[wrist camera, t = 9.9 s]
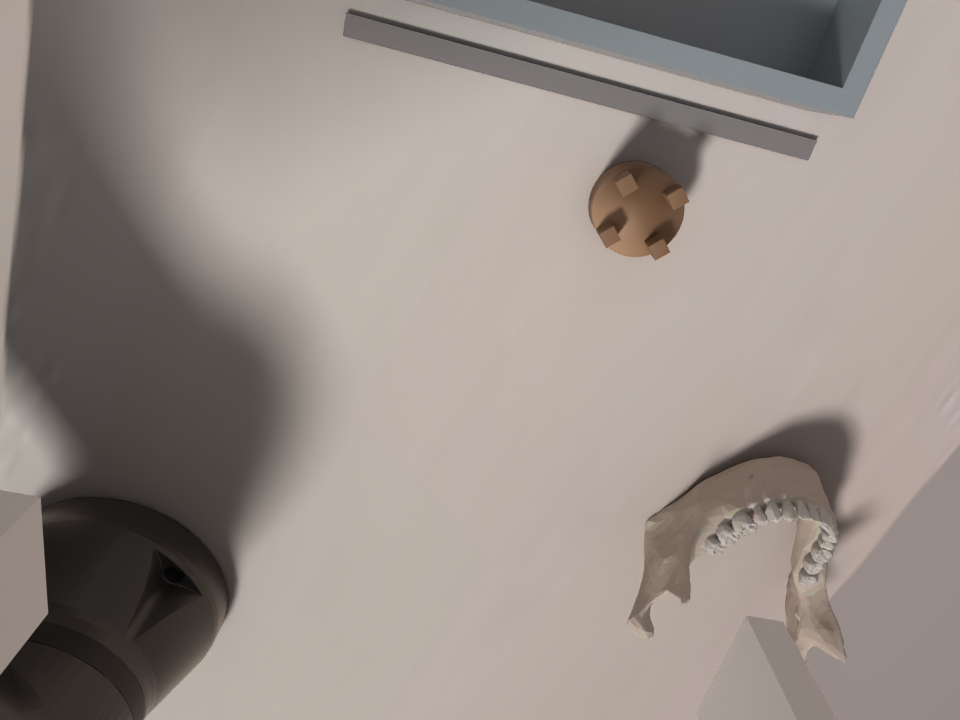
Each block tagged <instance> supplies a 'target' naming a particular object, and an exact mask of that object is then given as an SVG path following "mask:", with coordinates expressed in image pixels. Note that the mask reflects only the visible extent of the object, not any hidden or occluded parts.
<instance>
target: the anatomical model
mask: <svg viewBox="0 0 960 720" xmlns="http://www.w3.org/2000/svg"><path fill="white" fill-rule="evenodd" d="M779 509H782V514H781V512H780V510H779ZM765 511H766V515H767V516H766V515H765ZM795 511H796V513H797V516H798V517H799V520H798V530H797V534H796V538H795V542H794V547H793V552H792V557H791V565H792V571H791V575H790V578H789V580H788V583H787V593H786V601H785V611H786V623H787V630H788V632H789V634H790V635H791V637H792V639H793V641H794V643H795V645H796V646H797V648H798V650H799V652H800V654H801V655H802V657H803V659H804V661H805V663H806V655H807V652H808V650H809V649H810V648H811V647H812V646H816V647H819V648H821V649H822V650H824V651H826V652H827V653H829V654H830V655H831V656H833V657H835V658H838V659H840V660H841V661H843V662H846V653H845V650H844V641H843V638H842V634H841V631H840V627H839V624H838V622H837V619H836V617H835V615H834V613H833V611H832V609H831V607H830V604H829V601H828V596H827V590H826V568H827V562H829V561H830V559H831V557H832V556H833V548H834V547H835V545H836V543H837V541H838V538H839V531H838V529H837V519H836V517H835V515H834V513H833V511H832V510H831V508H830V504H829V501H828V498H827V496H826V494H825V493H824V490H823V487H822V484H821V481H820V478H819V475H818V474H817V473H816V472H815V471H814V470H813V469H812V468H811V467H810V466H809V465H808V464H806V463H803V462H800V461H797V460H795V459H792V458H786V457H780V456H776V457H769V458H758V459H752V460H749V461H746V462H743V463H740V464H737V465H735V466H733V467H730V468H728V469H726V470H724V471H722V472H720V473H718V474H716V475H714V476H711V477H709V478H707V479H706V480H704V481H702V482H701V483H699V484H698V485H697V486H695V487H694V488H693V489H691V490H690V491H689V492H688V493H686V494H685V495H684V496H683V497H681V498H680V499H678V500H677V501H676V502H674V503H672V504H670V505H669V506H667V507H665V508H663V509H662V510H661V511H660V512H658V513H657V514H656V515H654V516H652V517H650V518H649V519H648V520H647V521H646V525H645V540H644V556H645V559H644V573H643V579H642V582H641V586H640V589H639V593H638V596H637V598H636V601H635V603H634V606H633V609H632V612H631V615H630V616H629V618H628V621H627V625H628V626H629V628H630V629H631V630H632V631H633V632H634V633H635V634H637V635H638V636H640V637H641V638H644V639H649V638H650V637H652V636H653V635H654V627H653V625H652V622H651V619H650V608H651V605H652V603H653V602H654V601H655V600H657V599H659V598H660V597H663V596H665V595H666V594H668V593H671V594H672V595H674V596H676V597H678V598H679V599H680V600H681V602H682V605H684V604H687V603H688V601H689V600H690V588H691V585H690V571H689V565H690V564H691V562H692V561H693V560H694V559H695V558H696V557H697V556H699V555H701V554H703V553H705V552H706V551H708V552H709V553H710V554H711V555H721V554H722V552H723V551H724V549H725V548H726V546H733V545H734V544H735V543H736V541H737V540H738V539H739V537H740V536H739V535H747V536H748V535H749V534H750V533H751V532H755V531H756V530H757V524H758V525H761V524H762V525H766V524H768V522H769V520H770V521H772V522H775V523H779V522H780V521H781V519H784V520H786V521H789V522H792V521H794V520H795V519H796V518H797V516H796V513H795ZM753 519H754V520H753ZM756 523H757V524H756Z"/></svg>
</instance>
